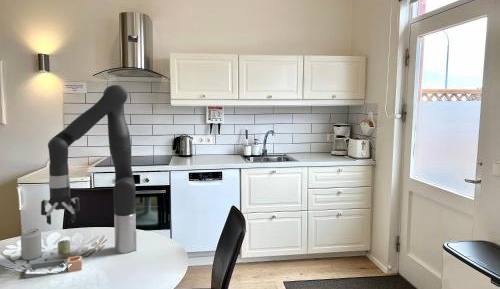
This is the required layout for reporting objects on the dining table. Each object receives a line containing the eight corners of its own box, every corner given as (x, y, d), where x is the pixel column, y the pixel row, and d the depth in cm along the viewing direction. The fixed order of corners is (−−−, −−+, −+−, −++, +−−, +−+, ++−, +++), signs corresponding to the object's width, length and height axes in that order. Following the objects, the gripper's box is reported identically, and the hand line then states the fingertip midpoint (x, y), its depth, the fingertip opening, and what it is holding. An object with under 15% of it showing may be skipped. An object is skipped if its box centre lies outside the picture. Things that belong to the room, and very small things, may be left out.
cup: (81, 264, 147) (81, 255, 147) (81, 270, 143) (81, 260, 142) (68, 266, 145) (68, 257, 145) (67, 272, 141) (67, 262, 140)
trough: (68, 263, 149) (67, 258, 148) (66, 272, 141) (66, 267, 140) (28, 268, 143) (28, 263, 143) (24, 278, 135) (24, 273, 135)
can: (32, 261, 149) (31, 234, 148) (17, 260, 150) (16, 232, 149) (45, 254, 156) (45, 228, 155) (31, 252, 158) (30, 226, 156)
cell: (70, 257, 154) (69, 238, 153) (69, 261, 150) (69, 242, 149) (58, 258, 152) (58, 239, 152) (57, 263, 148) (57, 243, 147)
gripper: (79, 182, 154) (80, 218, 155) (41, 184, 148) (43, 222, 150) (77, 186, 147) (79, 224, 148) (38, 188, 141) (40, 227, 143)
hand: (61, 223), depth 149 cm, fingers open, 8 cm apart
